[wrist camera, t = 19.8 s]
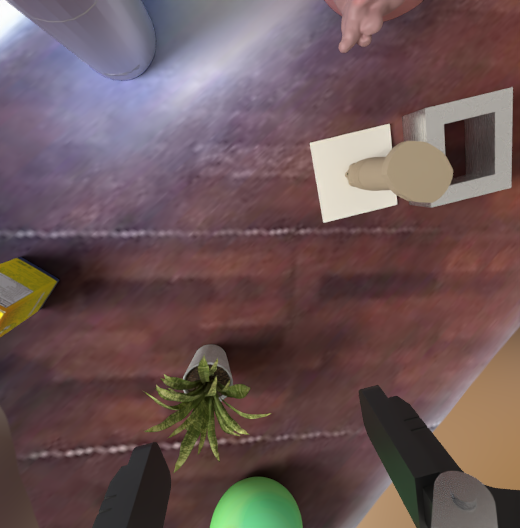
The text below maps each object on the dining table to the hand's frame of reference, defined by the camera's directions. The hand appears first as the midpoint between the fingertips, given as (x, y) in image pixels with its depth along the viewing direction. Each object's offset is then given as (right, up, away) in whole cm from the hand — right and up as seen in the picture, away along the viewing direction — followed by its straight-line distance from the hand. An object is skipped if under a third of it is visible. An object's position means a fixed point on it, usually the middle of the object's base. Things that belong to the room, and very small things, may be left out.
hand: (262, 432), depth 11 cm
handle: (+13, +19, +30) cm, 38 cm away
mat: (+13, +19, +30) cm, 38 cm away
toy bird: (-2, -37, +45) cm, 58 cm away
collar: (+26, +22, +31) cm, 46 cm away
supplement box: (-32, +4, +31) cm, 45 cm away
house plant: (-7, -8, +36) cm, 38 cm away
